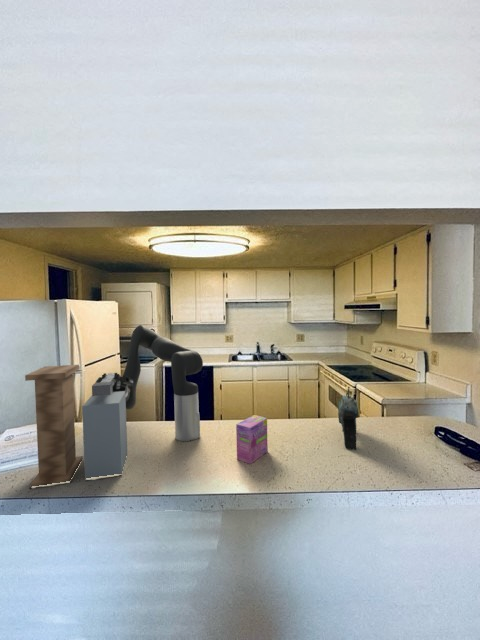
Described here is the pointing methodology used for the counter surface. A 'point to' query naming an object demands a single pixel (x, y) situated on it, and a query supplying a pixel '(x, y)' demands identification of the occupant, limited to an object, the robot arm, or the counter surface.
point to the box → (251, 438)
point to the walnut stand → (55, 424)
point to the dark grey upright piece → (348, 419)
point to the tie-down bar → (104, 386)
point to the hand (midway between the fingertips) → (110, 375)
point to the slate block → (104, 434)
